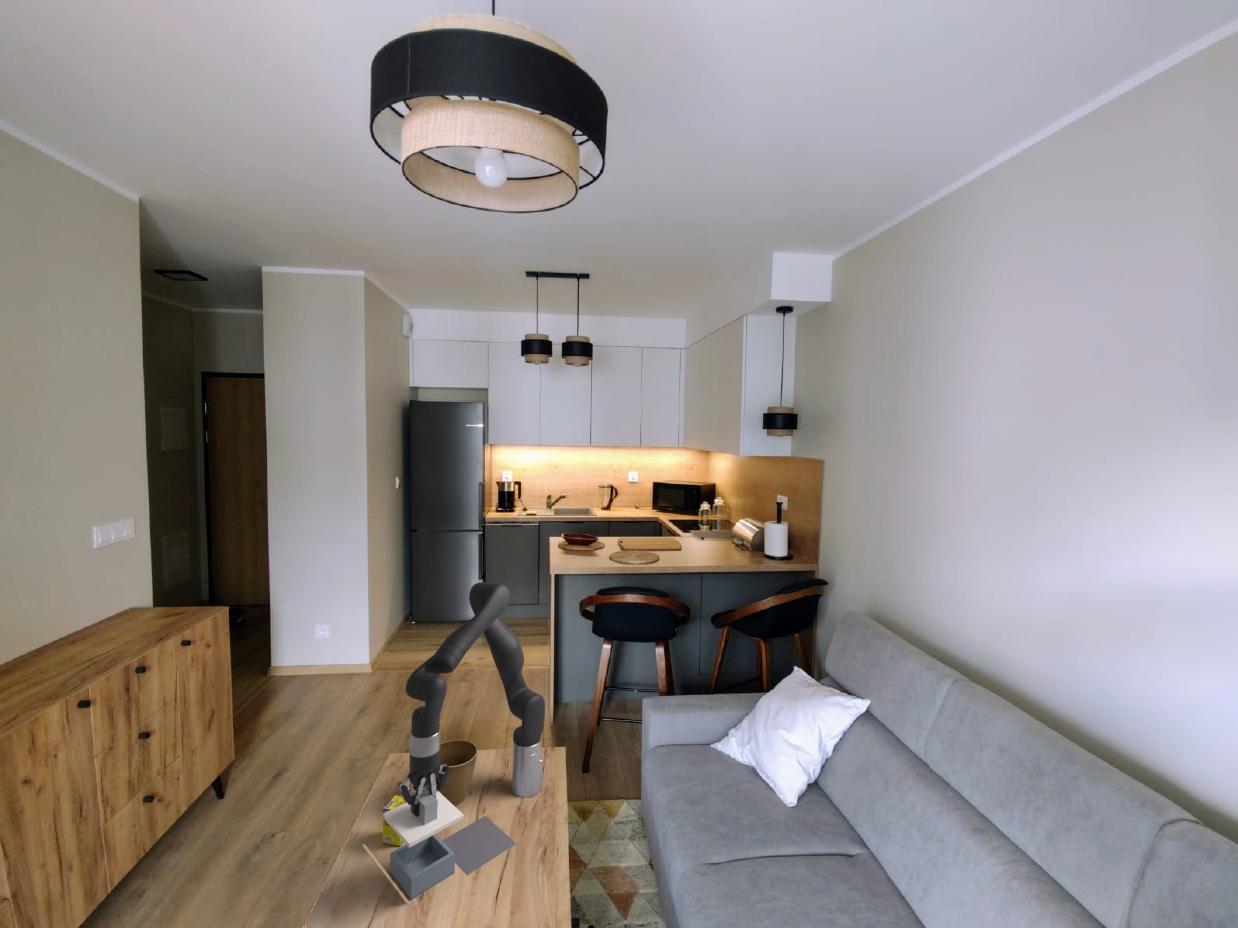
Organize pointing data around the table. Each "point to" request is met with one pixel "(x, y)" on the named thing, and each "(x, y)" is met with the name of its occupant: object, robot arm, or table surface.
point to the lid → (423, 818)
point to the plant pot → (457, 768)
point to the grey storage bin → (422, 865)
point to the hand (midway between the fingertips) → (423, 810)
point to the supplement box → (388, 833)
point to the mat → (478, 844)
